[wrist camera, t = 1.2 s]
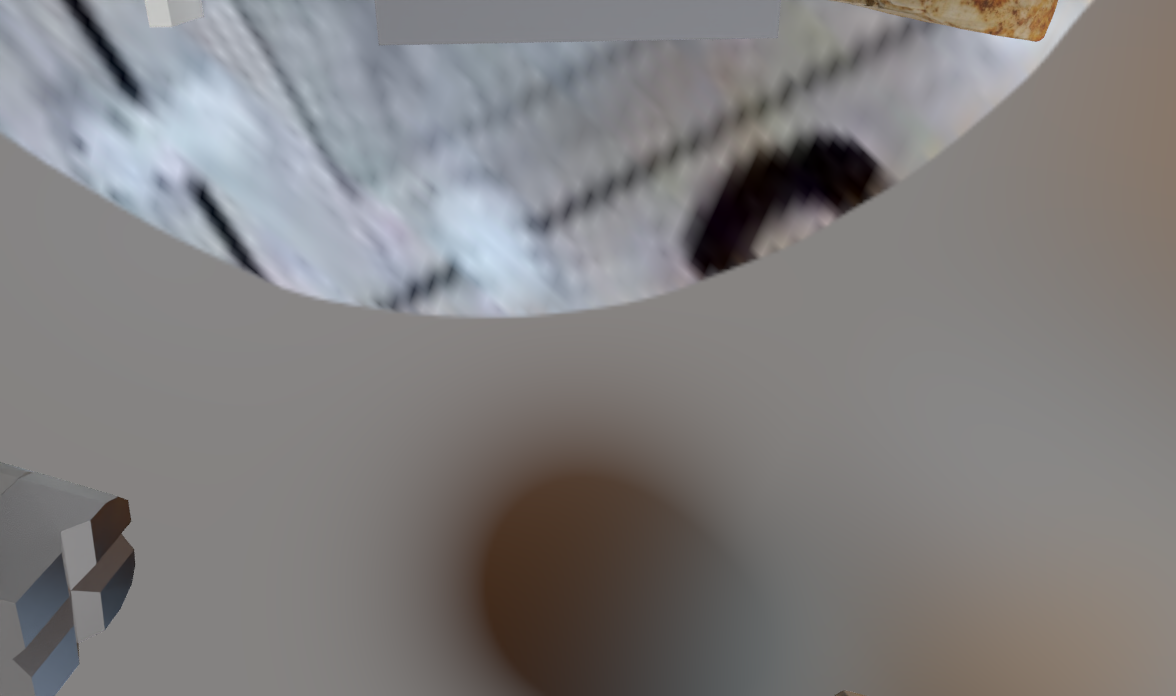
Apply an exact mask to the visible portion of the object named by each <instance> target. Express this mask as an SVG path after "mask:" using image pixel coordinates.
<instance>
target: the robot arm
mask: <svg viewBox="0 0 1176 696" xmlns="http://www.w3.org/2000/svg"><path fill="white" fill-rule="evenodd" d="M130 523H131V515H130V509H129V502H128V500H126V499H124V498H121V497H118V496H115V495H112V494H108V493H105V492H102V491H98V490H95V489H92V488H88V487H85V486H81V485H78V484H75V483H71V482H68V481H64V480H61V479H58V478H55V477H51V476H48V475H45V474H41V473H38V472H34V471H30V470H27V469H23V468H20V467H16V466H12V465H9V464H5V463H1V462H0V696H55V695H56V694H57V692H58V691H59V690H60V689H61V687H62V686H63V685H64V683H65V682H66V681H67V680H68V678H69V677H70V675H71V674H72V673H73V672H74V670H75V669H76V668H77V666H78V665H79V643H80V642H82V641H84V640H86V639H88V638H90V637H92V636H94V635H97V634H99V633H101V632H103V631H105V630H106V628H107V627H108V625H109V624H110V623H111V621H112V620H113V619H114V617H115V616H116V614H117V613H118V612H119V610H120V609H121V607H122V604H123V602H124V600H125V598H126V596H127V594H128V591H129V589H130V587H131V585H132V581H133V575H134V570H135V552H134V548H133V547H132V546H131V545H130V544H129V543H128V541H127V540H126V539H125V537H124V536H123V535H122V532H123V531H124V530H125V529H126V527H127V526H128V525H129V524H130ZM835 696H866V695H862V694H858V693H854V692H850V691H846V690H842V691H840V692H839V693H837V694H835Z"/></svg>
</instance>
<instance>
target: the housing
mask: <svg viewBox="0 0 1176 696" xmlns="http://www.w3.org/2000/svg"><path fill="white" fill-rule="evenodd" d="M780 4H781V0H375V9H376V19H377V30H378V40H379V45H420V44H474V43H528V42H582V41H637V40H691V39H745V38H778V28H779V16H780Z"/></svg>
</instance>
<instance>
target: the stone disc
mask: <svg viewBox="0 0 1176 696" xmlns="http://www.w3.org/2000/svg"><path fill="white" fill-rule="evenodd" d="M830 1H838V2H844V3H849V4H853V5H857V6H861V7H865V8H869V9H873V10H877V11H881V12H885V13H889V14H893V15H897V16H901V17H907V18H912V19H916V20H920V21H925V22H930V23H937V24H942V25H947V26H951V27H956V28H960V29H965V30H970V31H975V32H981V33H987V34H991V35H997V36H1003V37H1010V38H1017V39H1024V40H1030V41H1035V42H1036V41H1040V40H1041V39H1043V38H1044V36H1045V34H1046V31H1047V29H1048V26H1049V24H1050V22H1051V19H1052V17H1053V14H1054V12H1055V9H1056V5H1057V2H1058V0H830Z"/></svg>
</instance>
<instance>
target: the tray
mask: <svg viewBox="0 0 1176 696" xmlns="http://www.w3.org/2000/svg"><path fill="white" fill-rule="evenodd" d="M145 5H146V10H147V15H148V20H149V25H150V27H173V26H176V25H180V24H183V23H186V22H189V21H192V20H195V19H198V18H201V17H204V13H203V7H202V1H201V0H145Z"/></svg>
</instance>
